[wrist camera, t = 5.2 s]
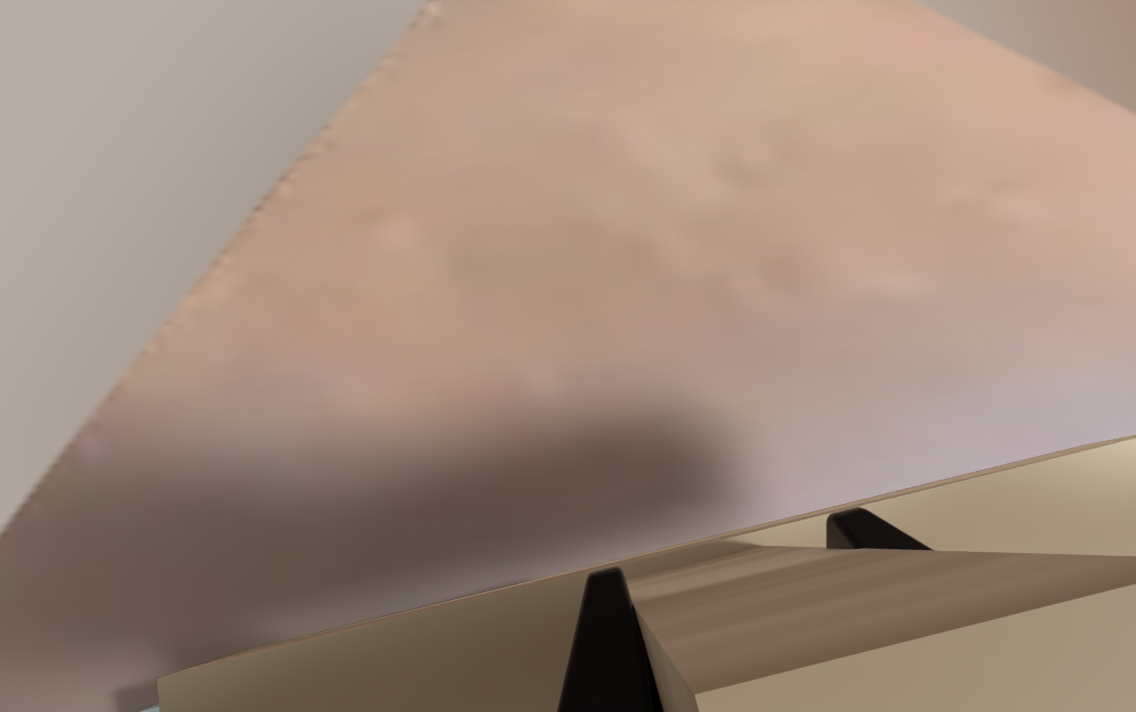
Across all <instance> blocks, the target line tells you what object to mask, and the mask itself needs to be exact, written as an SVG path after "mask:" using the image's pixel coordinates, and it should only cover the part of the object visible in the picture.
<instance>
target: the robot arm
mask: <svg viewBox="0 0 1136 712" xmlns="http://www.w3.org/2000/svg"><path fill="white" fill-rule="evenodd" d="M826 548H828V549H898V550H933V549H931V548H930V547H928V546H926V545H925V544H923V543H922V542H920V541H918V540H917V539H915V538H913V537H912V536H910V535H908V534H907V533H905V532H903V531H902V530H900V529H898V528H897V527H895V526H893V525H892V524H890V523H888V522H887V521H885V520H884V519H882V518H880V517H879V516H877V515H875V514H874V513H872V512H870V511H869V510H867V509H864V508H861V507H855V508H850V509H846V510H842V511H838V512H834V513H831V514H830V515H829V516H828V518H827V521H826ZM933 551H935V550H933ZM557 712H658V707H657V702H656V697H655V692H654V687H653V682H652V677H651V673H650V668H649V663H648V658H647V653H646V649H645V645H644V641H643V637H642V634H641V630H640V627H639V623H638V620H637V616H636V613H635V609H634V606H633V603H632V599H631V596H630V592H629V589H628V585H627V582H626V578H625V575H624V572H623V569H622V568H621V567H619V566H614V567H610V568H606V569H602V570H598V571H593V572H591V573H590V574H589V575H588V577H587V580H586V584H585V588H584V593H583V597H582V602H581V606H580V610H579V615H578V619H577V624H576V628H575V633H574V637H573V642H572V646H571V651H570V655H569V659H568V664H567V668H566V673H565V677H564V682H563V686H562V691H561V695H560V700H559V704H558V708H557Z"/></svg>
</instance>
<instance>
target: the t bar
mask: <svg viewBox="0 0 1136 712" xmlns="http://www.w3.org/2000/svg"><path fill="white" fill-rule="evenodd" d="M855 507H861V508H864V509H867V510H869V511H870V512H872V513H874V514H875V515H877V516H879V517H880V518H882V519H884V520H885V521H887V522H888V523H890V524H892V525H893V526H895V527H897V528H898V529H900V530H902V531H903V532H905V533H907V534H908V535H910V536H912V537H913V538H915V539H917V540H918V541H920V542H922V543H923V544H925V545H926V546H928V547H930V548H931V549H933V550H935V551H933V550H898V549H828V548H826V521H827V518H828V516H829V515H830V514H831V513H834V512H838V511H842V510H846V509H850V508H855ZM614 566H619V567H621V568H622V569H623V572H624V575H625V578H626V582H627V585H628V589H629V592H630V596H631V599H632V603H633V606H634V609H635V613H636V616H637V620H638V623H639V627H640V630H641V634H642V637H643V641H644V645H645V649H646V653H647V658H648V663H649V668H650V673H651V677H652V682H653V687H654V692H655V697H656V702H657V707H658V712H1136V435H1133V436H1128V437H1123V438H1118V439H1113V440H1108V441H1102V442H1097V443H1092V444H1087V445H1082V446H1078V447H1074V448H1070V449H1066V450H1062V451H1058V452H1054V453H1050V454H1046V455H1041V456H1037V457H1033V458H1029V459H1025V460H1021V461H1017V462H1013V463H1009V464H1005V465H1001V466H997V467H993V468H988V469H984V470H980V471H976V472H972V473H968V474H964V475H960V476H956V477H952V478H948V479H944V480H940V481H935V482H931V483H927V484H923V485H919V486H915V487H911V488H907V489H903V490H899V491H895V492H891V493H886V494H882V495H878V496H874V497H870V498H866V499H862V500H858V501H854V502H850V503H846V504H842V505H838V506H833V507H829V508H825V509H821V510H817V511H813V512H809V513H805V514H801V515H797V516H793V517H789V518H785V519H780V520H776V521H772V522H768V523H764V524H760V525H756V526H752V527H748V528H744V529H740V530H736V531H732V532H727V533H723V534H719V535H715V536H711V537H707V538H703V539H699V540H695V541H691V542H687V543H683V544H679V545H674V546H670V547H666V548H662V549H658V550H654V551H650V552H646V553H642V554H638V555H634V556H630V557H626V558H621V559H617V560H613V561H609V562H605V563H601V564H597V565H593V566H589V567H585V568H581V569H577V570H573V571H568V572H564V573H560V574H556V575H552V576H548V577H544V578H540V579H536V580H532V581H528V582H524V583H520V584H515V585H511V586H507V587H503V588H499V589H495V590H491V591H487V592H483V593H479V594H475V595H471V596H467V597H462V598H458V599H454V600H450V601H446V602H442V603H438V604H434V605H430V606H426V607H422V608H418V609H414V610H409V611H405V612H401V613H397V614H393V615H389V616H385V617H381V618H377V619H373V620H369V621H365V622H361V623H356V624H352V625H348V626H344V627H340V628H336V629H332V630H328V631H324V632H320V633H316V634H312V635H307V636H303V637H299V638H295V639H291V640H287V641H283V642H279V643H275V644H271V645H267V646H263V647H259V648H254V649H250V650H246V651H242V652H238V653H235V654H232V655H229V656H226V657H223V658H220V659H216V660H213V661H210V662H207V663H204V664H201V665H197V666H194V667H191V668H188V669H185V670H182V671H179V672H175V673H172V674H169V675H166V676H163V677H160V678H157V689H158V699H159V710H160V712H557V708H558V704H559V700H560V695H561V691H562V686H563V682H564V677H565V673H566V668H567V664H568V659H569V655H570V651H571V646H572V642H573V637H574V633H575V628H576V624H577V619H578V615H579V610H580V606H581V602H582V597H583V593H584V588H585V584H586V580H587V577H588V575H589V574H590V573H591V572H593V571H598V570H602V569H606V568H610V567H614Z"/></svg>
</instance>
